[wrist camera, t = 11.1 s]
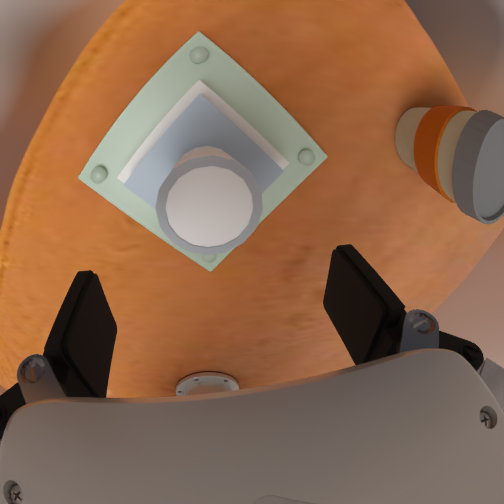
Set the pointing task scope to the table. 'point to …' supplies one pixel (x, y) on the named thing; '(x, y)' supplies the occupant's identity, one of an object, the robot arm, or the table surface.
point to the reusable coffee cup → (457, 156)
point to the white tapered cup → (208, 202)
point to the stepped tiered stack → (199, 136)
